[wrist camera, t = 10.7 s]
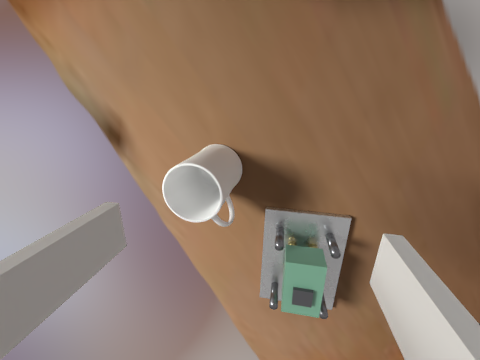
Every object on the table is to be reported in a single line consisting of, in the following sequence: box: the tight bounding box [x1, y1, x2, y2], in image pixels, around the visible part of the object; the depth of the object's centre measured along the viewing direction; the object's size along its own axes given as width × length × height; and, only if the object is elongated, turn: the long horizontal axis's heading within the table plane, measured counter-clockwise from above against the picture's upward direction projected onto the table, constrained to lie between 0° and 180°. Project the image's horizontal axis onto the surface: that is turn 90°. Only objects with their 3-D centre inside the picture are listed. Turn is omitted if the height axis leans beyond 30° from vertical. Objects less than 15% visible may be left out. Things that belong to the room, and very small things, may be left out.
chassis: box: [260, 207, 352, 319], centre depth 39 cm, size 20×14×6 cm
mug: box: [162, 144, 242, 227], centre depth 34 cm, size 12×8×12 cm
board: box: [281, 244, 327, 318], centre depth 36 cm, size 10×6×5 cm, turn 0°
